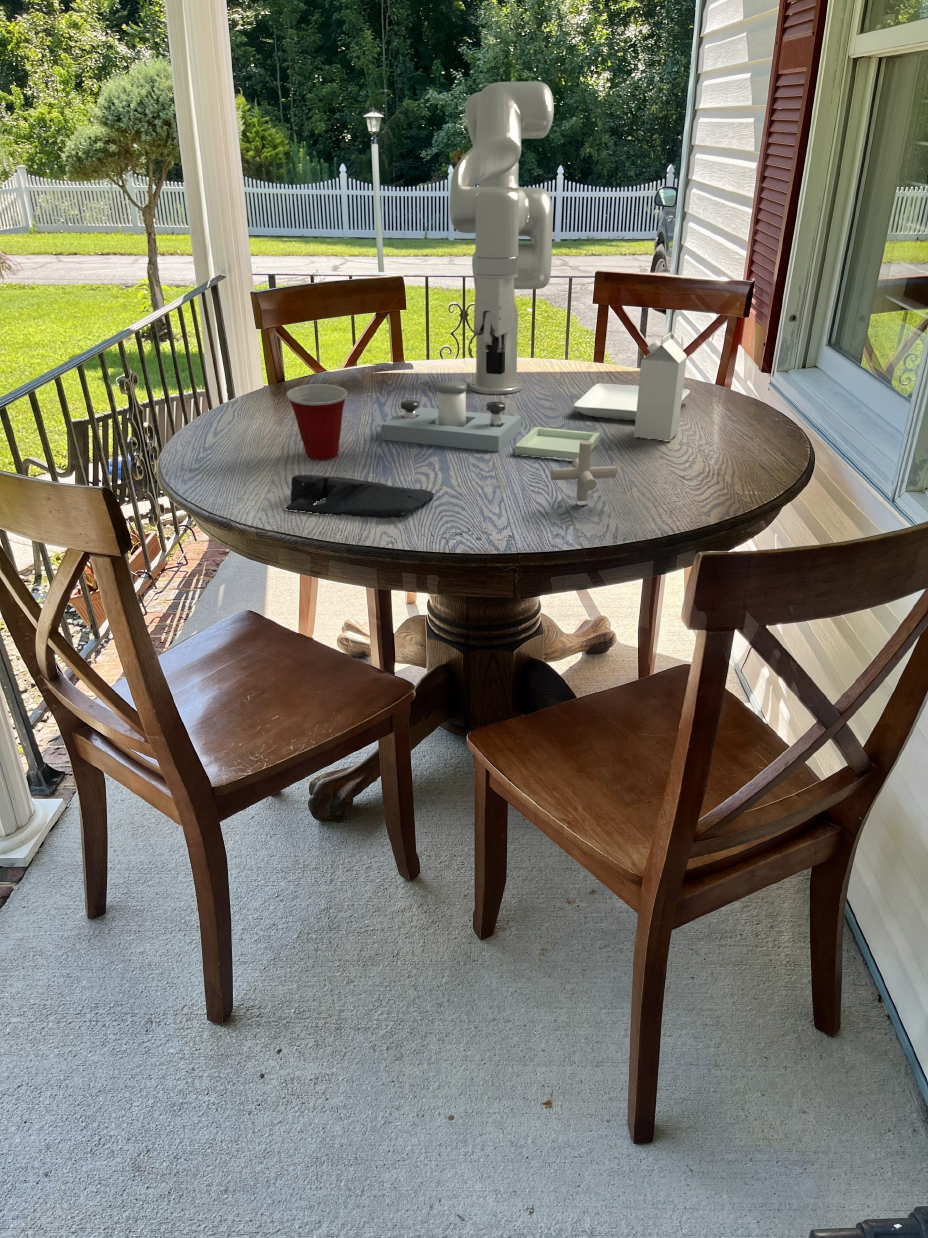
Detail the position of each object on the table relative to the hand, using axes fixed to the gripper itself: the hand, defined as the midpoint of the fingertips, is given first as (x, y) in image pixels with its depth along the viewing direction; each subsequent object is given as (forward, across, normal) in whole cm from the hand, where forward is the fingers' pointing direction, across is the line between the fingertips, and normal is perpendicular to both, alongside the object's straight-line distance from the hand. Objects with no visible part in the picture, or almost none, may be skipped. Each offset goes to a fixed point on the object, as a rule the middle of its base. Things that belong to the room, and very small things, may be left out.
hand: (495, 372), depth 158 cm
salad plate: (+13, -30, +21) cm, 39 cm away
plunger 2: (+11, 0, 0) cm, 11 cm away
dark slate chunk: (+14, +39, -10) cm, 42 cm away
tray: (+13, +1, +13) cm, 18 cm away
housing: (+13, 0, -9) cm, 16 cm away
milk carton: (+13, -13, +29) cm, 35 cm away
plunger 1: (+12, 0, -18) cm, 22 cm away
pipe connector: (+13, +28, +24) cm, 39 cm away
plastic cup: (+13, +20, -27) cm, 36 cm away
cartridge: (+13, 0, -9) cm, 16 cm away
